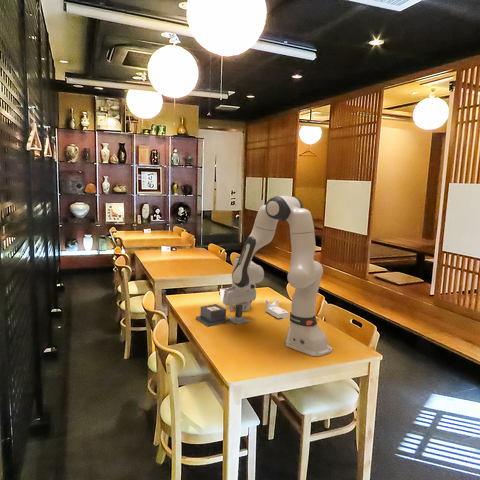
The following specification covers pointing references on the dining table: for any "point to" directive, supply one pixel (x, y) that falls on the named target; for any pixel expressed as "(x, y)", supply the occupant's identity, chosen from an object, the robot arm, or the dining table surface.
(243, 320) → the rest mat
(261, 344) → the dining table surface
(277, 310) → the bracket
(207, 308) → the button
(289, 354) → the dining table surface
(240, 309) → the stylus
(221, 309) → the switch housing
